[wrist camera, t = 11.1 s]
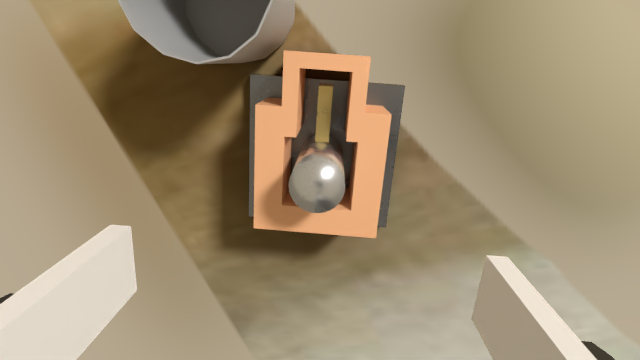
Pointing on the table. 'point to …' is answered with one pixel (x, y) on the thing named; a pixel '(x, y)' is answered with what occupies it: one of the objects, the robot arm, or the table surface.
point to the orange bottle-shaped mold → (284, 123)
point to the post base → (325, 141)
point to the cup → (212, 27)
